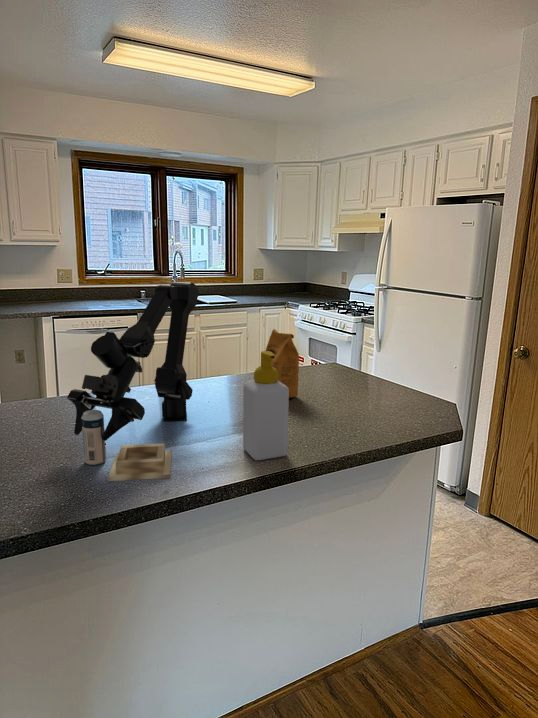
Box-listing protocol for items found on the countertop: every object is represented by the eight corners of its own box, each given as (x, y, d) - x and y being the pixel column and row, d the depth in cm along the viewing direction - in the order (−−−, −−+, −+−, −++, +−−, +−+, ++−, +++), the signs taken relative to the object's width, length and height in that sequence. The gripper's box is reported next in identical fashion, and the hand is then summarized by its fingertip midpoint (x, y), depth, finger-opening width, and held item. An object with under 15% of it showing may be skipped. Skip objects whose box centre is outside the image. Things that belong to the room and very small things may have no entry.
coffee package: (282, 389, 177) (284, 327, 172) (301, 398, 166) (303, 333, 161) (257, 392, 172) (258, 329, 167) (275, 402, 162) (277, 335, 157)
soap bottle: (254, 462, 117) (255, 357, 112) (241, 448, 125) (241, 349, 120) (289, 456, 121) (292, 354, 115) (274, 443, 129) (276, 347, 123)
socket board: (171, 453, 122) (171, 440, 121) (170, 477, 109) (169, 463, 108) (116, 456, 120) (115, 443, 119) (108, 481, 107) (107, 466, 106)
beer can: (110, 461, 117) (107, 412, 114) (91, 468, 113) (87, 417, 110) (99, 455, 120) (96, 407, 117) (80, 461, 116) (77, 412, 114)
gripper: (69, 356, 118) (36, 414, 111) (135, 364, 111) (103, 428, 104) (95, 380, 127) (65, 436, 120) (157, 389, 120) (129, 449, 113)
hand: (89, 437), depth 114 cm, fingers open, 8 cm apart
